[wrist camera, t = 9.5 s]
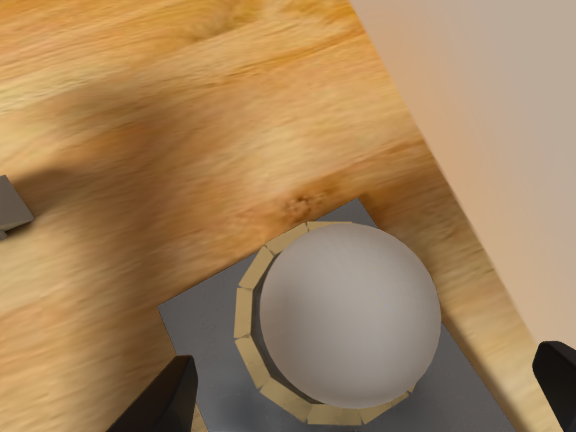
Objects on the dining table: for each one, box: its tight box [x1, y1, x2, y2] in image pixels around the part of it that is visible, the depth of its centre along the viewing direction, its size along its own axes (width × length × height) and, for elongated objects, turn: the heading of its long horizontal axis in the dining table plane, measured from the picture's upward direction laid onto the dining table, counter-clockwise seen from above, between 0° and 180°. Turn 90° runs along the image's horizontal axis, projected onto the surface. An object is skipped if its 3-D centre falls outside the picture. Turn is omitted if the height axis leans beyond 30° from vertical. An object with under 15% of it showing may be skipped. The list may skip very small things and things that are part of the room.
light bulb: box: [260, 223, 441, 409], centre depth 14 cm, size 6×6×10 cm
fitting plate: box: [157, 198, 517, 432], centre depth 17 cm, size 16×13×2 cm
